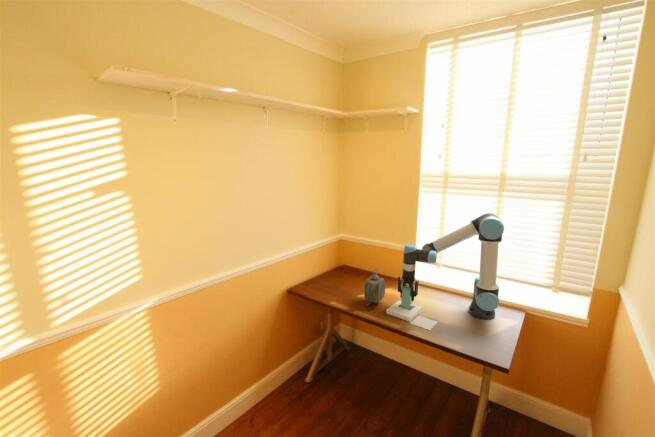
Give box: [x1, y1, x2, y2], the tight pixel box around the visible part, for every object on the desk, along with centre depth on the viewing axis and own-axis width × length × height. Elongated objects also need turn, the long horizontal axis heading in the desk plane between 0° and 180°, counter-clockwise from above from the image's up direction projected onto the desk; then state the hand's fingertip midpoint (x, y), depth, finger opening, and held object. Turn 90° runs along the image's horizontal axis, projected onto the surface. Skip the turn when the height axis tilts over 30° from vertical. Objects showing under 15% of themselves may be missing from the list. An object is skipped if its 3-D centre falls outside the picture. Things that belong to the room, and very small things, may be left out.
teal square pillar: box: [401, 284, 415, 310], centre depth 200 cm, size 6×6×16 cm
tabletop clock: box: [363, 267, 386, 307], centre depth 207 cm, size 14×9×25 cm, turn 149°
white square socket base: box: [385, 299, 424, 323], centre depth 199 cm, size 16×18×3 cm
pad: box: [409, 315, 438, 331], centre depth 186 cm, size 12×12×1 cm
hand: (406, 304), depth 201 cm, fingers closed on teal square pillar, 5 cm apart
